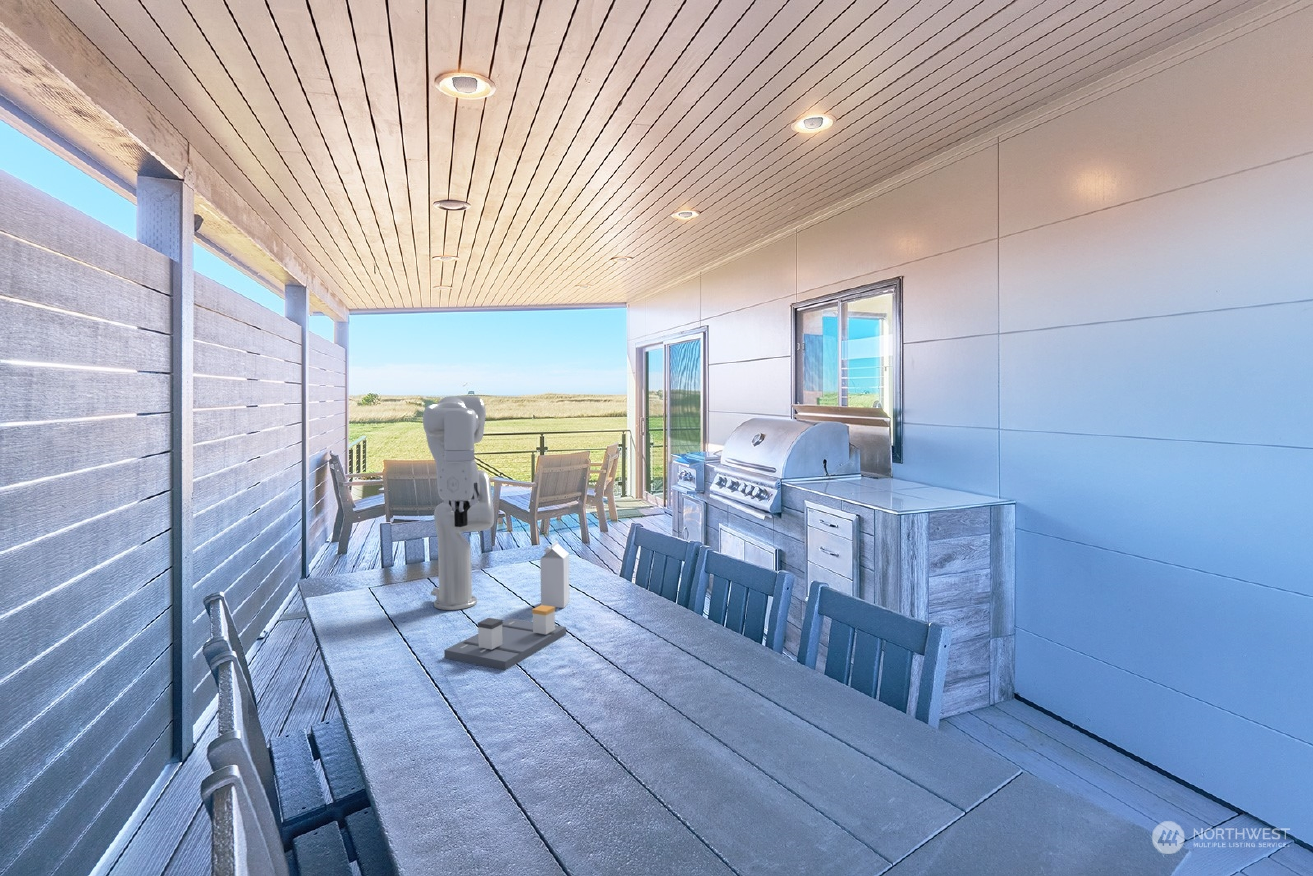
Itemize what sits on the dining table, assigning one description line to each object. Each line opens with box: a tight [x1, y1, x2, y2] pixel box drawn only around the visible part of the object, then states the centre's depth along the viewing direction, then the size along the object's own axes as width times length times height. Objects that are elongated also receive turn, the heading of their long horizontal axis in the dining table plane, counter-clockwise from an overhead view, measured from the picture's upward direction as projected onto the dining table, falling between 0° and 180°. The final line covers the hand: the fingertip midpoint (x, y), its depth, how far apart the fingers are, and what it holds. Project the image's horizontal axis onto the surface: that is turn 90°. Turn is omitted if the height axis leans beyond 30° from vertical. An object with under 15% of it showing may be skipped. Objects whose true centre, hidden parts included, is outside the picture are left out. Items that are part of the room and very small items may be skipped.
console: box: [443, 617, 567, 671], centre depth 172 cm, size 18×26×2 cm
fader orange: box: [531, 604, 556, 634], centre depth 175 cm, size 4×4×6 cm
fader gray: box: [477, 617, 504, 650], centre depth 165 cm, size 4×4×6 cm
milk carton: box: [539, 539, 570, 609], centre depth 205 cm, size 7×7×19 cm
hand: (461, 526), depth 179 cm, fingers closed
